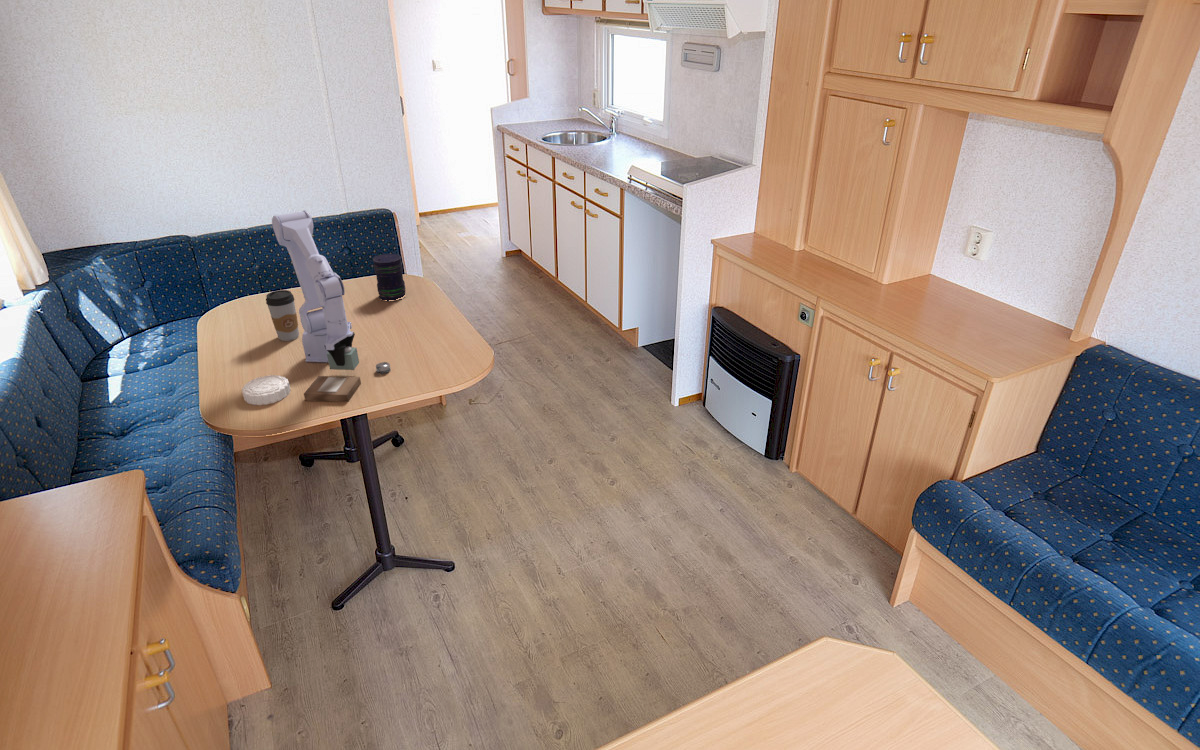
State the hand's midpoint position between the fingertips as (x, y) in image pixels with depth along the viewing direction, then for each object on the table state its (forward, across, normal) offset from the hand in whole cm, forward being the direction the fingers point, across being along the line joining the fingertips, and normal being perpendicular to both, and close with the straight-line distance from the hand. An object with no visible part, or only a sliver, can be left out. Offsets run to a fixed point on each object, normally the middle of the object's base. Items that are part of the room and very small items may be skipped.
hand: (343, 361), depth 199 cm
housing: (+2, 0, 0) cm, 2 cm away
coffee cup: (+5, +24, +28) cm, 37 cm away
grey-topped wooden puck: (+5, +3, -10) cm, 12 cm away
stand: (+4, -10, 0) cm, 11 cm away
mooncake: (+5, -12, +18) cm, 22 cm away
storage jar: (+5, +60, +5) cm, 60 cm away
